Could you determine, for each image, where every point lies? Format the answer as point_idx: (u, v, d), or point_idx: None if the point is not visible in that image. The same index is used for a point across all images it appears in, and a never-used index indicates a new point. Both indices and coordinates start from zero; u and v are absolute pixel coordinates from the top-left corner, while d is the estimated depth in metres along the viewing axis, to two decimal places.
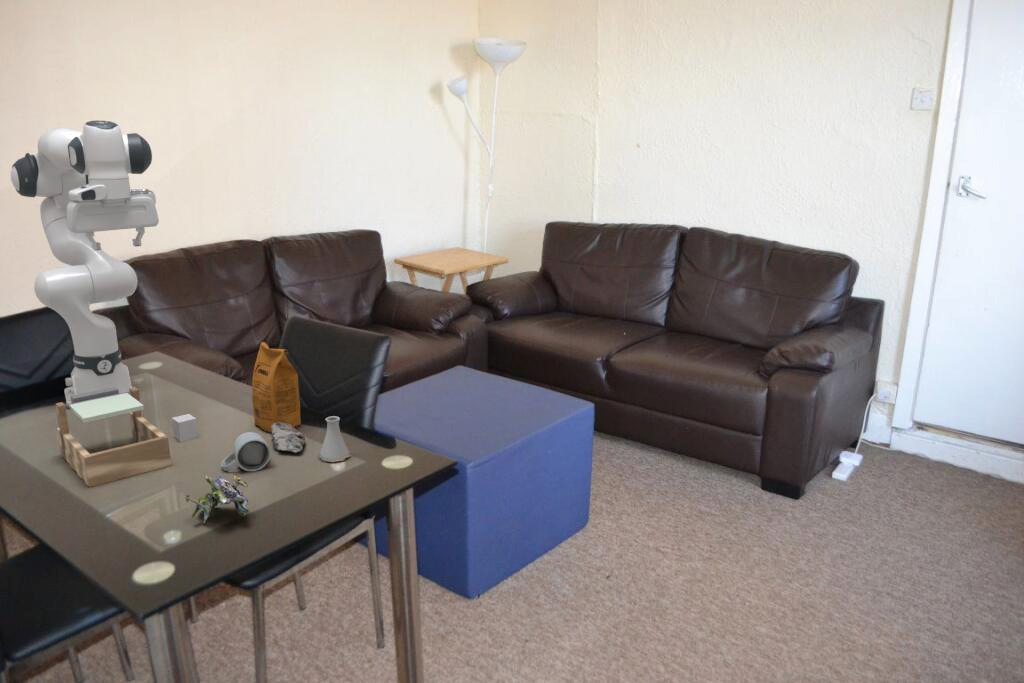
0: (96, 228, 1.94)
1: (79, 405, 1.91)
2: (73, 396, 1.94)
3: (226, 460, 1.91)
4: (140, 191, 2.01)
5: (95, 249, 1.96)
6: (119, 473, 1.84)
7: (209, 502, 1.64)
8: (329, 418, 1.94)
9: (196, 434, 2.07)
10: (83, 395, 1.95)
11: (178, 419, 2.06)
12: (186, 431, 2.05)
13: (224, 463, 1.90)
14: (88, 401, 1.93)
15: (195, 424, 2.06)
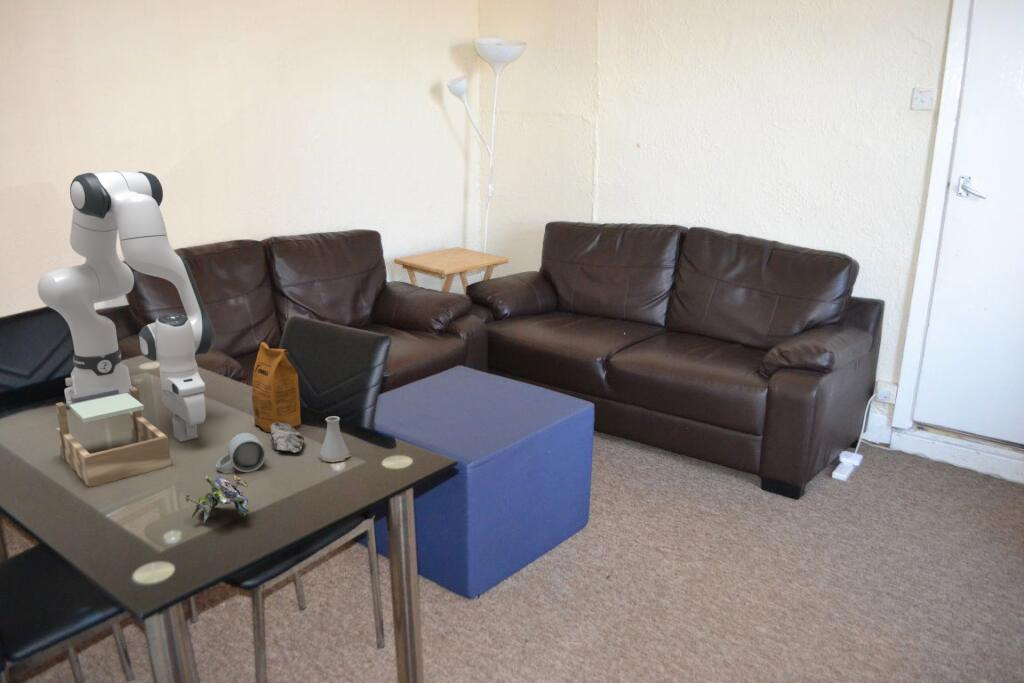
0: None
1: (79, 405, 1.91)
2: (73, 396, 1.94)
3: (221, 461, 1.90)
4: None
5: None
6: (119, 473, 1.84)
7: (209, 502, 1.64)
8: (329, 418, 1.94)
9: (196, 434, 2.07)
10: (83, 395, 1.95)
11: (178, 419, 2.05)
12: None
13: (219, 464, 1.89)
14: (88, 401, 1.93)
15: (195, 424, 2.06)
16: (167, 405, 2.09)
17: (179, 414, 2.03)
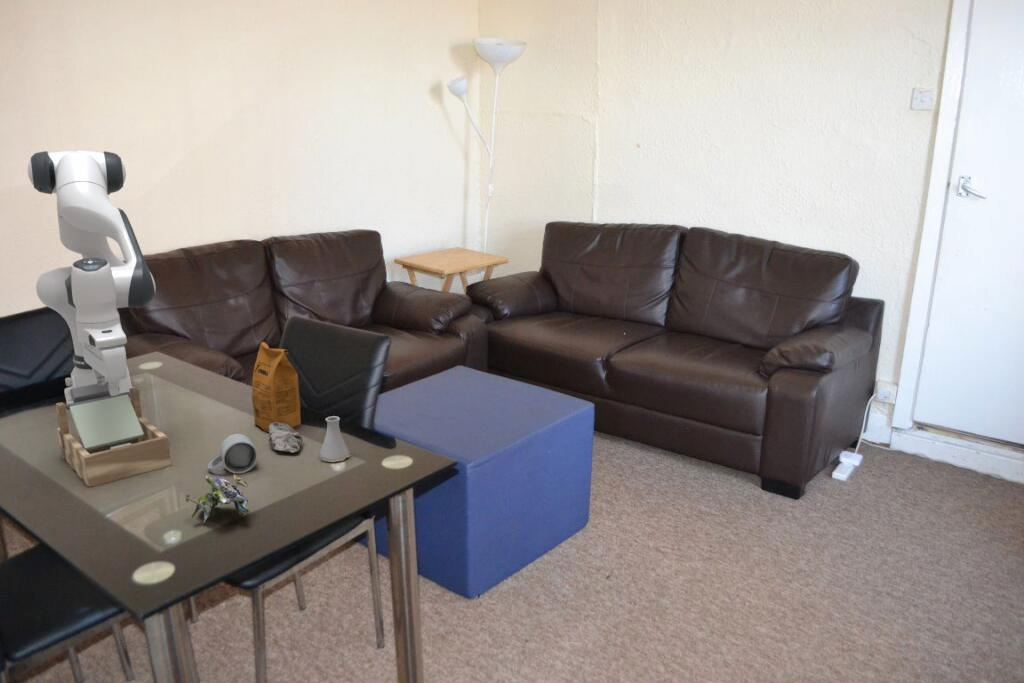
0: None
1: (79, 412, 1.91)
2: (74, 391, 1.93)
3: (213, 462, 1.90)
4: None
5: (118, 393, 1.84)
6: (119, 473, 1.84)
7: (209, 502, 1.64)
8: (329, 418, 1.94)
9: None
10: (84, 392, 1.94)
11: None
12: None
13: (211, 465, 1.89)
14: (89, 404, 1.93)
15: None
16: (88, 361, 1.89)
17: (99, 370, 1.83)
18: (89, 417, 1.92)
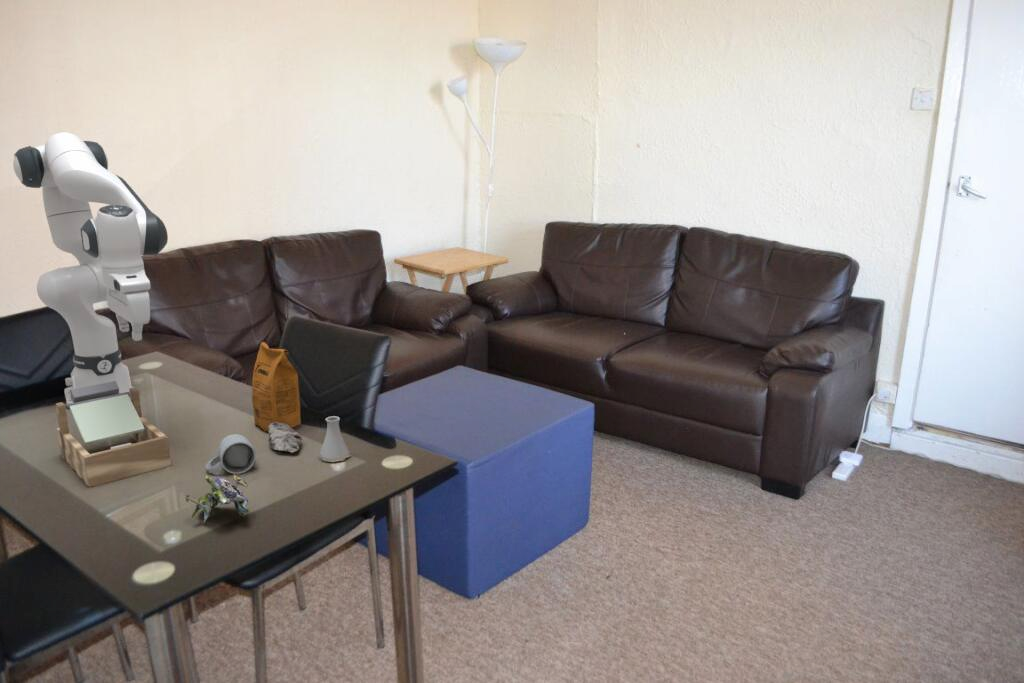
0: None
1: (79, 411, 1.91)
2: (74, 392, 1.93)
3: (211, 462, 1.90)
4: None
5: None
6: (119, 473, 1.84)
7: (209, 502, 1.64)
8: (329, 418, 1.94)
9: None
10: (84, 392, 1.94)
11: None
12: None
13: (209, 465, 1.88)
14: (88, 403, 1.93)
15: None
16: (112, 308, 1.93)
17: (123, 315, 1.87)
18: (89, 415, 1.91)
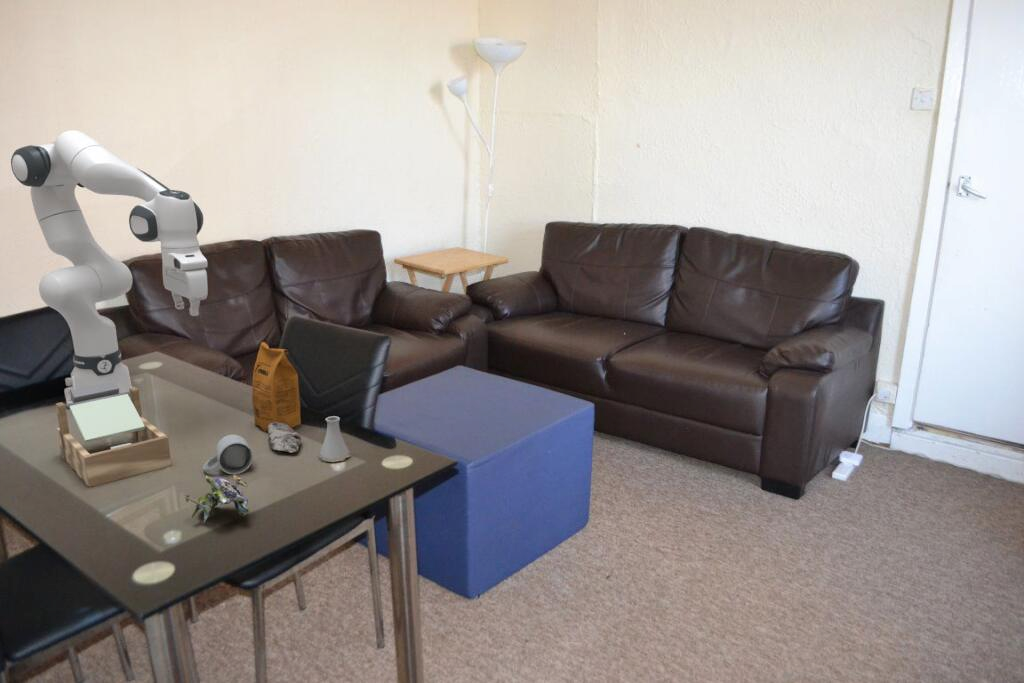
0: None
1: (79, 410, 1.91)
2: (73, 392, 1.93)
3: (208, 463, 1.89)
4: None
5: None
6: (119, 473, 1.84)
7: (209, 502, 1.64)
8: (329, 418, 1.94)
9: None
10: (84, 393, 1.94)
11: None
12: None
13: (206, 466, 1.88)
14: (88, 403, 1.93)
15: None
16: (169, 287, 2.07)
17: (181, 292, 2.01)
18: (89, 414, 1.91)
